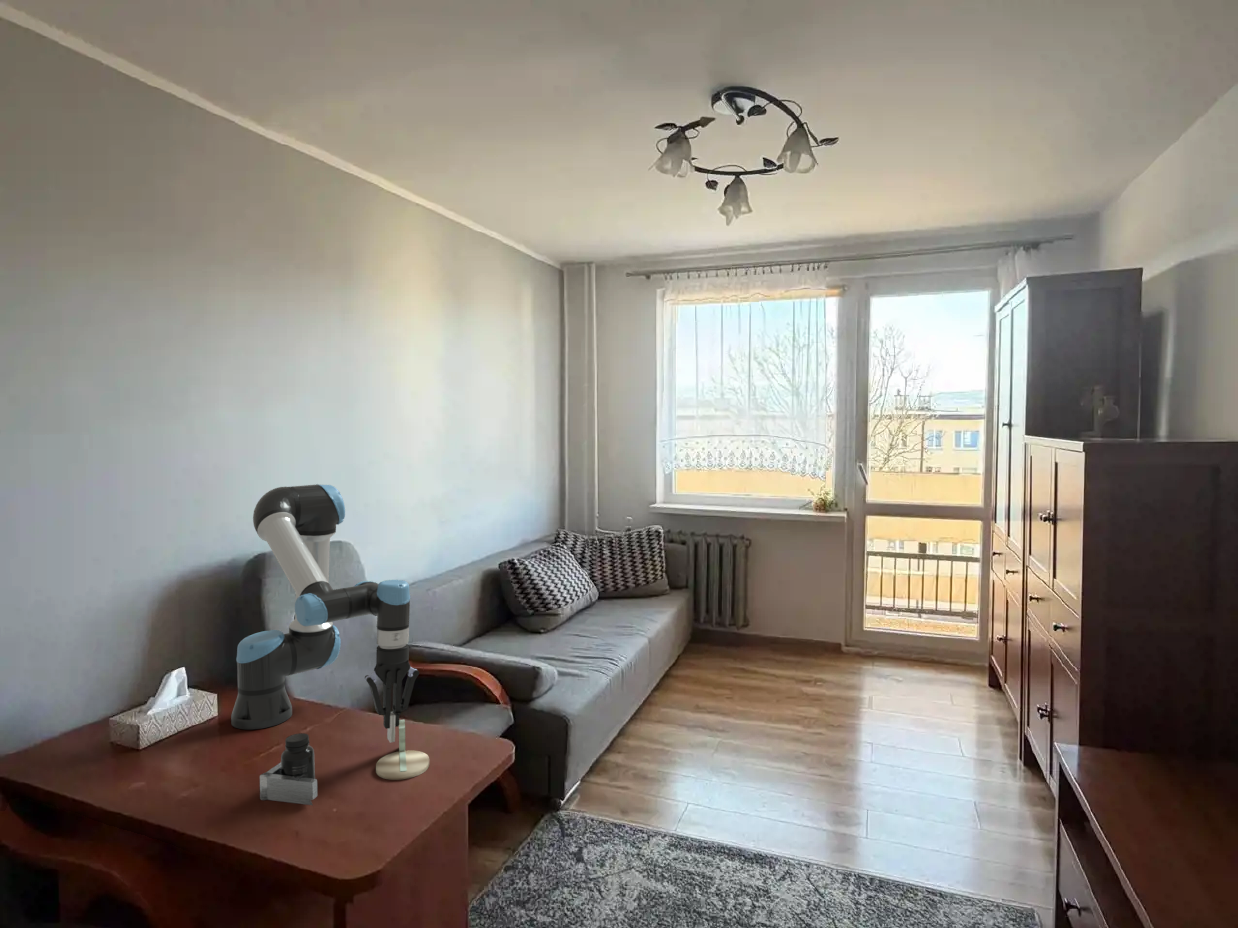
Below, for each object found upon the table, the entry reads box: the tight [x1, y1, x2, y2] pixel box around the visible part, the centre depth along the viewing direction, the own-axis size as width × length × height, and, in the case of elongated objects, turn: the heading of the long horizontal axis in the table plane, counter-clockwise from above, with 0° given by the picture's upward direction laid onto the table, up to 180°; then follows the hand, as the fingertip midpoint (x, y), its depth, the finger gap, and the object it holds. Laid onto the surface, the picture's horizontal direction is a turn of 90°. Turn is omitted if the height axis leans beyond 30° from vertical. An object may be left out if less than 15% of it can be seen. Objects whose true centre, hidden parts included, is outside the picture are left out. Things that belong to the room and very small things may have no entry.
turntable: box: [375, 719, 430, 781], centre depth 172 cm, size 17×12×7 cm
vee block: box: [259, 761, 318, 806], centre depth 160 cm, size 18×10×5 cm, turn 33°
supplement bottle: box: [280, 732, 316, 779], centre depth 161 cm, size 7×7×12 cm
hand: (391, 739), depth 176 cm, fingers closed
